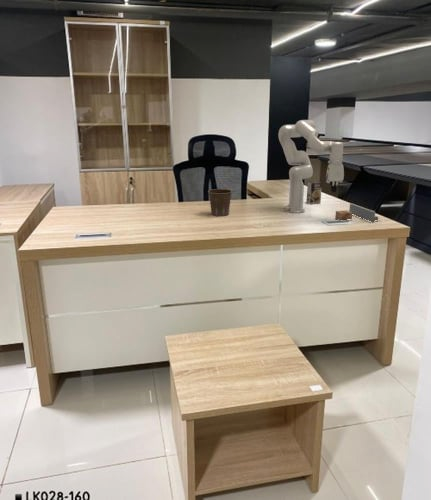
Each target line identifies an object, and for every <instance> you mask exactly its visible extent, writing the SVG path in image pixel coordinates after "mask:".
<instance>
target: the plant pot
mask: <svg viewBox="0 0 431 500" xmlns="http://www.w3.org/2000/svg"><path fill="white" fill-rule="evenodd" d="M207 192H208V196H209V205H210V213H211V214H210V215H212V216H214V217H215V216H216V217H223V216H224V217H227V216H228V215H230V206H231V199H232V193H233V190H231V189H228V188H227V189H225V188H223V189H222V188H214V189H209V190H208V191H207Z"/></svg>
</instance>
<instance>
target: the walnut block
mask: <svg viewBox="0 0 431 500" xmlns="http://www.w3.org/2000/svg"><path fill="white" fill-rule="evenodd" d="M334 216H335V219H336V218H337V219H336V220H338V219H339V220H338V221H340V220H346V221H348V220H347V219H352V220H353V215H352V213H351V212H349V210H336V211H335V215H334Z"/></svg>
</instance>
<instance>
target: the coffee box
mask: <svg viewBox="0 0 431 500" xmlns="http://www.w3.org/2000/svg"><path fill="white" fill-rule="evenodd" d="M322 185H323V182H320V181H309V182H307V187H306V201H305V203H306V204H308V205H318V204H319V205H320V204H321V199H322V190H323V188H322V187H323V186H322Z"/></svg>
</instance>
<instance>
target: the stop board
mask: <svg viewBox="0 0 431 500" xmlns="http://www.w3.org/2000/svg"><path fill="white" fill-rule="evenodd" d="M348 211H349V212H351V213H352V214H354V215H356V216H358V217H361V218H364V219H366V220H369V221H371V222H374V221H375V220H379V216H377V215H376V211H375V210H373V209H369V208H366V207H363V206H360V205H357V204H355V203H350V204H349V209H348ZM356 216H355V217H356ZM358 217H357V218H358ZM361 218H360V219H361ZM366 220H365V221H366ZM371 222H370V223H371ZM374 223H375V222H374Z"/></svg>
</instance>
